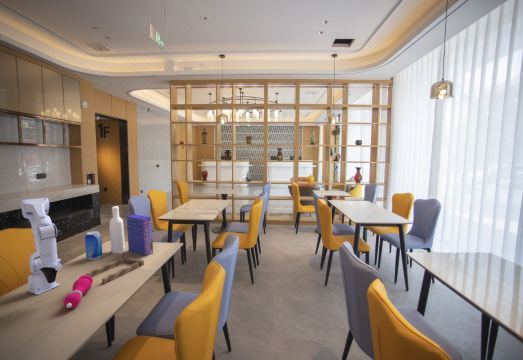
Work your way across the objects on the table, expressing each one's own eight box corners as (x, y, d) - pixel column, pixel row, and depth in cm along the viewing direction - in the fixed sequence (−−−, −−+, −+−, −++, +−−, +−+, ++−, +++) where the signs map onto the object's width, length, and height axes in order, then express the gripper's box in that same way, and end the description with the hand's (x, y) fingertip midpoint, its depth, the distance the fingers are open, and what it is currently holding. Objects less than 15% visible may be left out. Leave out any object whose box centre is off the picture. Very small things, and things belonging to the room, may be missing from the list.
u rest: (104, 283, 126) (104, 279, 126) (86, 277, 133) (85, 273, 132) (143, 264, 148) (143, 260, 147) (126, 260, 154) (126, 256, 153)
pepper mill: (87, 290, 123) (70, 317, 104) (73, 283, 121) (53, 310, 102) (97, 278, 124) (82, 303, 105) (83, 271, 121) (65, 295, 102)
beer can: (105, 255, 161) (103, 230, 160) (95, 260, 153) (93, 235, 151) (93, 254, 162) (91, 230, 160) (83, 260, 154) (80, 234, 152)
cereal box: (153, 253, 164) (151, 217, 162) (146, 255, 160) (144, 219, 157) (135, 248, 172) (133, 214, 169) (128, 251, 168) (126, 215, 165)
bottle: (114, 254, 162) (111, 208, 159) (109, 251, 167) (106, 207, 164) (127, 250, 169) (124, 206, 165) (121, 247, 173) (119, 204, 170)
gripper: (68, 252, 111) (71, 281, 112) (50, 246, 117) (52, 274, 118) (49, 258, 104) (52, 289, 106) (31, 252, 110) (34, 281, 112)
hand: (51, 282), depth 112 cm, fingers closed
